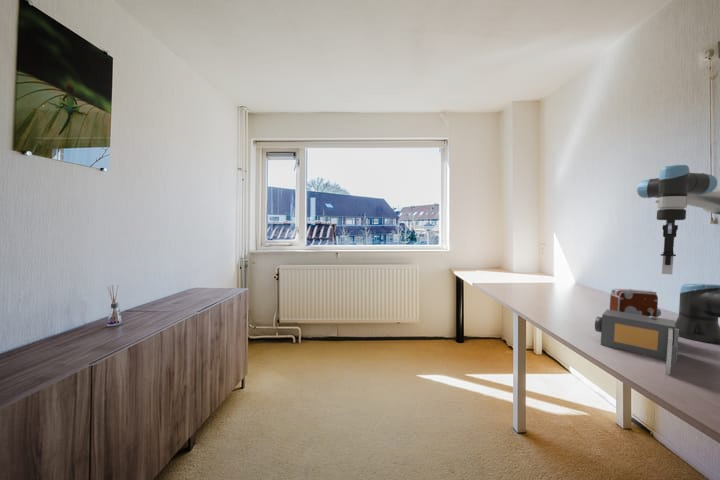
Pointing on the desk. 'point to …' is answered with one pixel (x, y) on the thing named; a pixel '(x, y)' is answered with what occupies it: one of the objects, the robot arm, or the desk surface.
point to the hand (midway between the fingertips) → (667, 273)
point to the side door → (670, 352)
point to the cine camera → (635, 302)
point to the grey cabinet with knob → (636, 333)
